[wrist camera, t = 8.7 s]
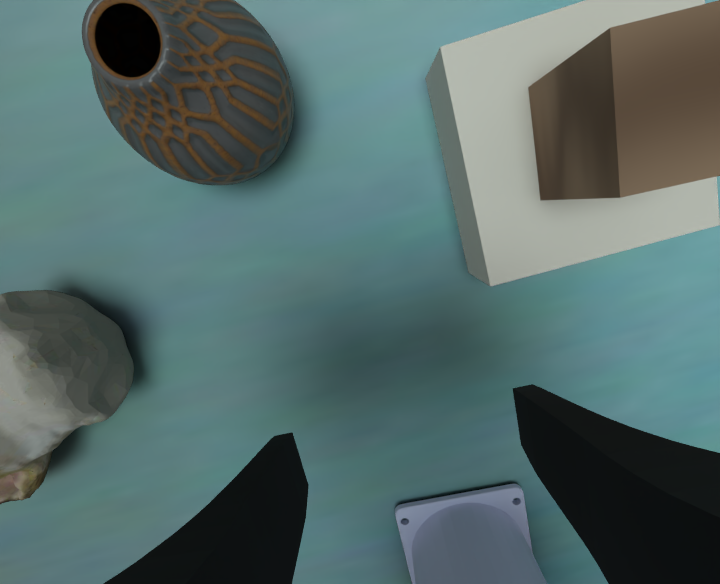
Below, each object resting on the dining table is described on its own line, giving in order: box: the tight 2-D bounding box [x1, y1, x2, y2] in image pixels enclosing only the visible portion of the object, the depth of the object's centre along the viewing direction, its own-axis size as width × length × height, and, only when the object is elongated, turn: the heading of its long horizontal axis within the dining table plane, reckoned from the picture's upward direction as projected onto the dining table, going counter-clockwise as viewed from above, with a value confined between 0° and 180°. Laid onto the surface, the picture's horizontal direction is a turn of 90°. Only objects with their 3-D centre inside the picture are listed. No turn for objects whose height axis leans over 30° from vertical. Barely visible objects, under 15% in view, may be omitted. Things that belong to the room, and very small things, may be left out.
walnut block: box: [528, 0, 720, 200], centre depth 13 cm, size 4×4×5 cm
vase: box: [82, 0, 294, 185], centre depth 14 cm, size 7×7×9 cm
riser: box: [425, 0, 720, 286], centre depth 17 cm, size 10×10×4 cm
